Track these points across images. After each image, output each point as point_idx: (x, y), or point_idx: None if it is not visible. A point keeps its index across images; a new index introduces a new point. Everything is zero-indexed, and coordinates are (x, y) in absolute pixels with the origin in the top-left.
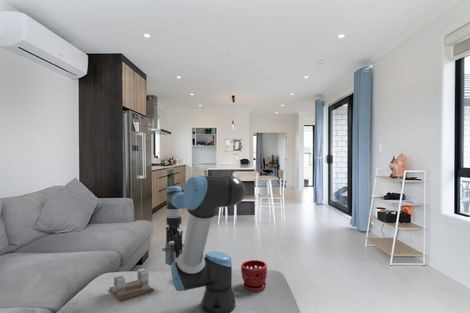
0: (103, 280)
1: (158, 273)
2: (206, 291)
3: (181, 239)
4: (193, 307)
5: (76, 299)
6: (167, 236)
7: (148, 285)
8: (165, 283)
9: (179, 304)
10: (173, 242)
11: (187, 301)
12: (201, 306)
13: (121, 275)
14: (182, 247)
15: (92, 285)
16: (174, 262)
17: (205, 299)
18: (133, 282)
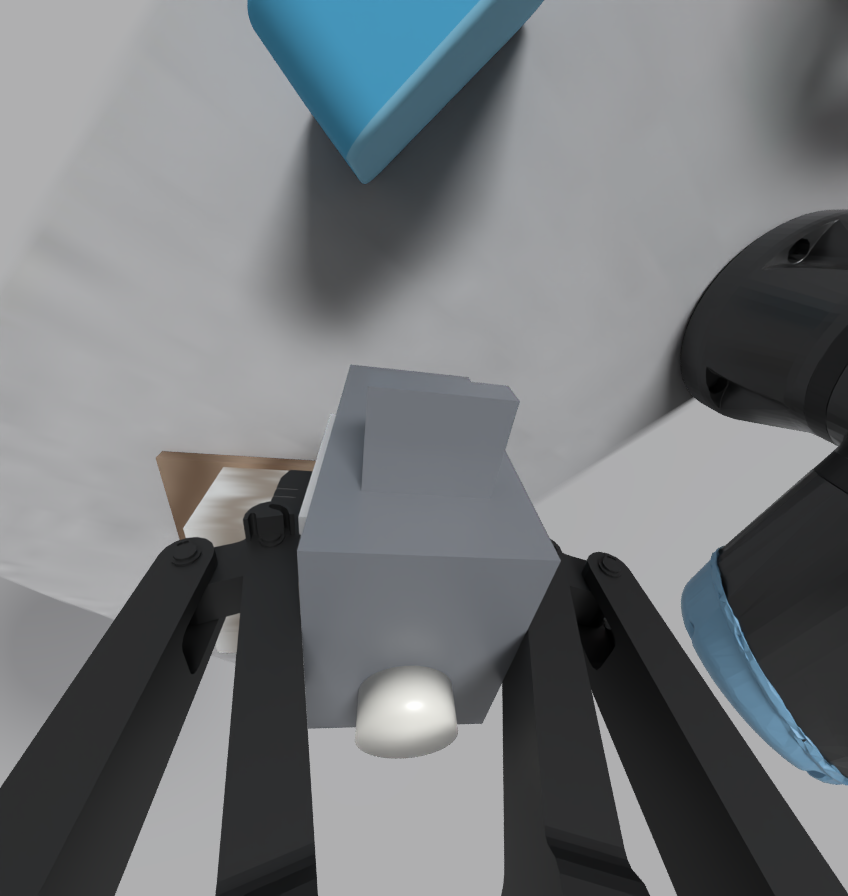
0: (47, 570)
1: (64, 294)
2: (810, 432)
3: (767, 800)
4: (652, 418)
5: (222, 655)
6: (129, 855)
7: (289, 467)
8: (302, 363)
9: (574, 445)
10: (451, 708)
11: (590, 404)
12: (695, 397)
13: (229, 632)
14: (523, 486)
15: (99, 608)
16: (845, 783)
17: (771, 425)
18: (190, 502)
